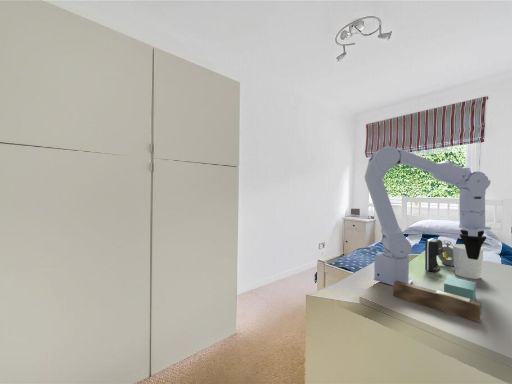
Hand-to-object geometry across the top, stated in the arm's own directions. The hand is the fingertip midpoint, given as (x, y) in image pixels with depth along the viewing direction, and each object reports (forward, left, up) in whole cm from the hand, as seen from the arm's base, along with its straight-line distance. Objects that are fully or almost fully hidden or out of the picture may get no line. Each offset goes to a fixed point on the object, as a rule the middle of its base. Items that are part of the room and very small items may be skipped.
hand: (472, 255), depth 72 cm
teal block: (-2, -11, -10) cm, 15 cm away
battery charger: (-12, +10, -10) cm, 19 cm away
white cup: (-3, +12, -10) cm, 16 cm away
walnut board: (-6, -22, -10) cm, 24 cm away
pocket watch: (-9, +21, -10) cm, 25 cm away
